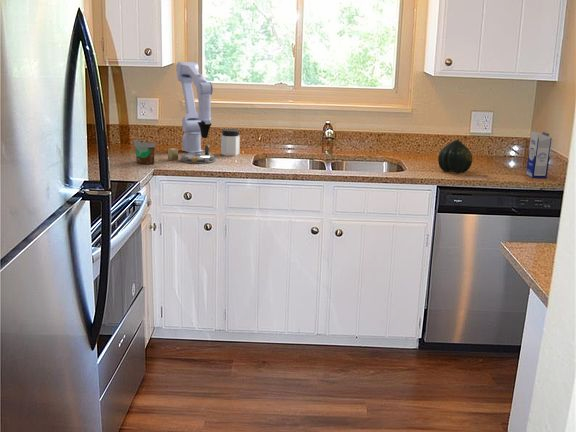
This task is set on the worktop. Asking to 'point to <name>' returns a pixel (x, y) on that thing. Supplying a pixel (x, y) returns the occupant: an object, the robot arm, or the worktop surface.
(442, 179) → the worktop surface
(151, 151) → the food container
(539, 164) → the milk carton
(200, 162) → the base plate
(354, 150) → the worktop surface
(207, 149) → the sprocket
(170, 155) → the beige upright block
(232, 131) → the jar
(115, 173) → the worktop surface
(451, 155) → the squash
